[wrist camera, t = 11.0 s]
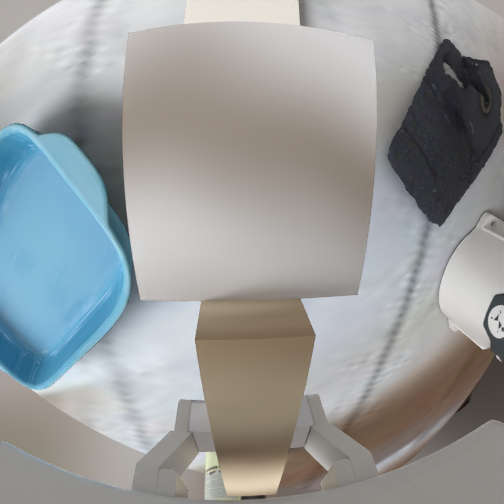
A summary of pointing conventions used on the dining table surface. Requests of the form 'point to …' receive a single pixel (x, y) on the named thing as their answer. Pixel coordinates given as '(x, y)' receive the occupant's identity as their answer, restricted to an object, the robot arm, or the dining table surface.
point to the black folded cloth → (447, 132)
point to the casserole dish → (55, 256)
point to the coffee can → (219, 482)
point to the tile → (242, 11)
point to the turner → (249, 208)
